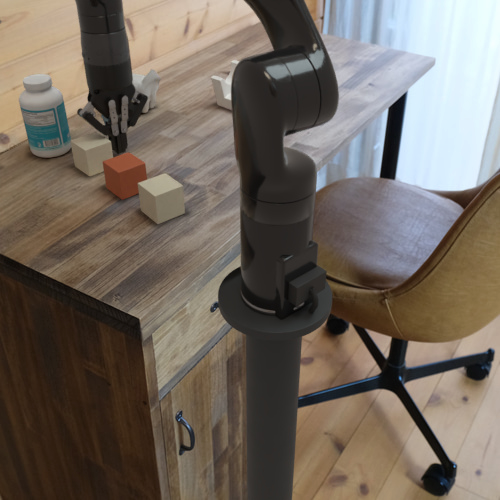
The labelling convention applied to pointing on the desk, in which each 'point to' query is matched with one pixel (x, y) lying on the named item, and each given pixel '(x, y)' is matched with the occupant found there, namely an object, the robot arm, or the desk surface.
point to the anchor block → (124, 174)
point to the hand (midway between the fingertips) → (119, 151)
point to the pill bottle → (44, 117)
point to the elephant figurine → (147, 87)
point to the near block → (161, 198)
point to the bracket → (224, 87)
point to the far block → (91, 153)
